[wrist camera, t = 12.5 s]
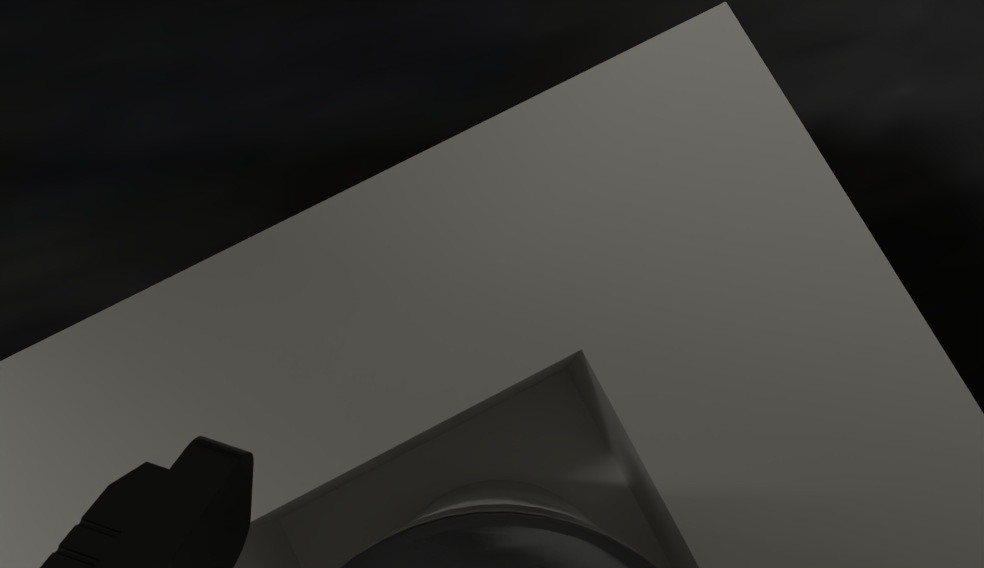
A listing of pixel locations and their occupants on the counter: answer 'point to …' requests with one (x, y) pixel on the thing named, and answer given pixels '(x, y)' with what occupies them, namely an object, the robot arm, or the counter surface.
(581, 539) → the lens
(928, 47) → the counter surface
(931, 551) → the grey block with recess
